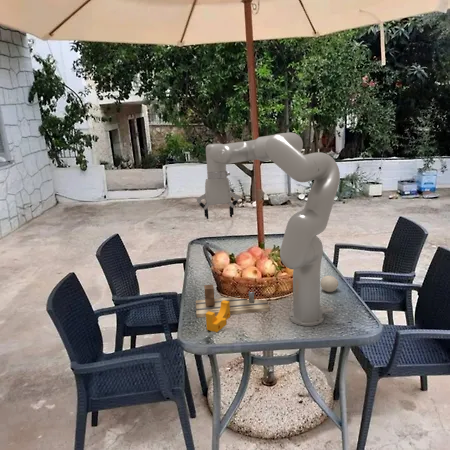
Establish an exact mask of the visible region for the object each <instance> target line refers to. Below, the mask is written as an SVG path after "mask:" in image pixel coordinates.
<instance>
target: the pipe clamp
mask: <svg viewBox="0 0 450 450" xmlns="http://www.w3.org/2000/svg"><path fill="white" fill-rule="evenodd" d="M230 318H231V315H230V301H225V300H223V301H222V302H221V307H220V311H219V313H218V315H217V316H215V313H214V312H210V311H208V312H207V313H206V317H205V323H206V324H205V325H206V330H207V331H210V332H213V333H218V332H220V330H222V329H223V328H224V327H225V326H226V325H227V320H229V319H230Z"/></svg>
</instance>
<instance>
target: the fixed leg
mask: <svg viewBox="0 0 450 450" xmlns="http://www.w3.org/2000/svg"><path fill="white" fill-rule="evenodd" d="M250 291H251V290H249V291H248V296H249V303H254V302H255V300H254V295H255V291H254V292H250Z"/></svg>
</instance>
